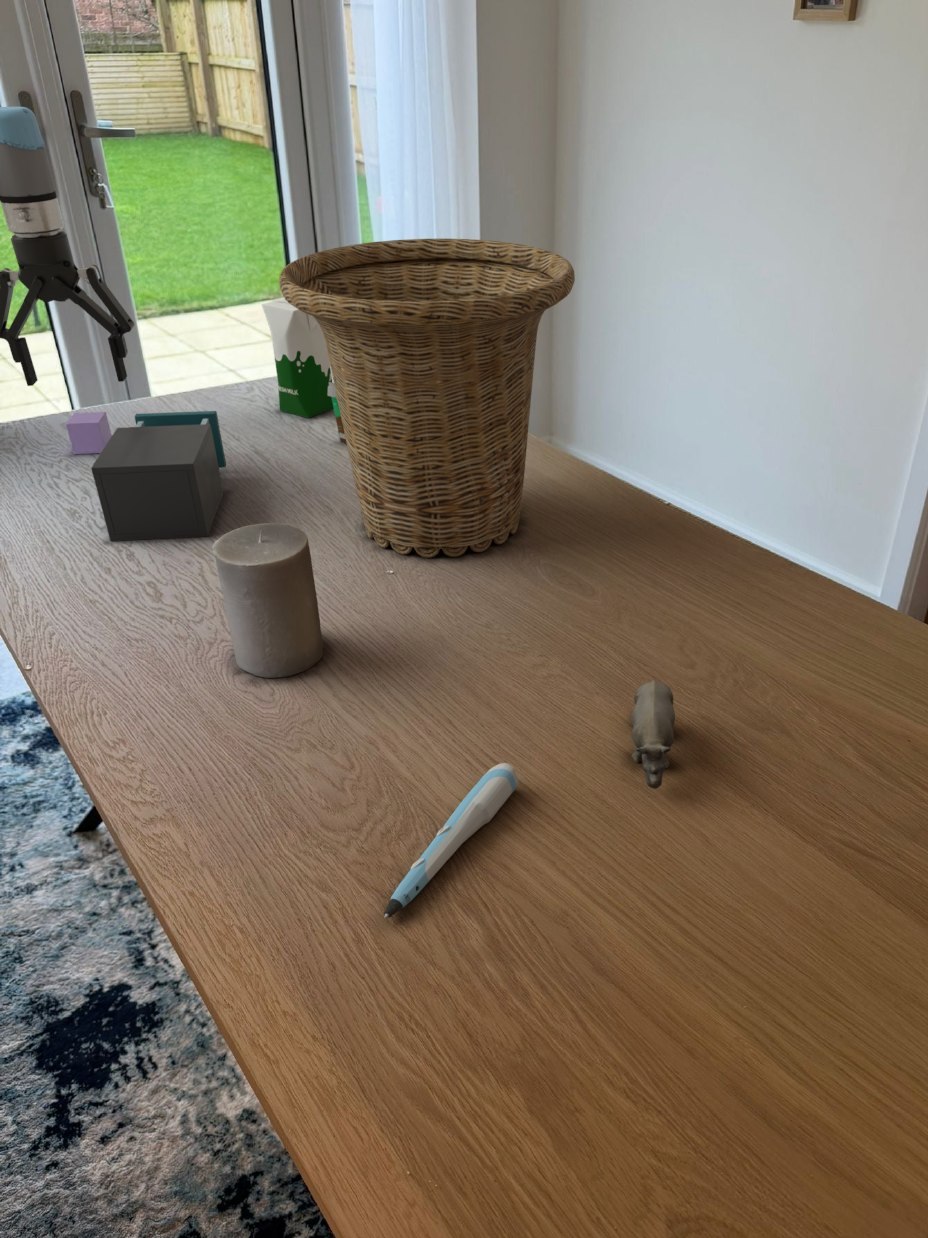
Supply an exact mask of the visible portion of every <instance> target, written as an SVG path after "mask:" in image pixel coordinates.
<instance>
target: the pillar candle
mask: <svg viewBox="0 0 928 1238" xmlns="http://www.w3.org/2000/svg"><path fill="white" fill-rule="evenodd" d="M212 551H213V554H214V559H215V563H216V569H217V574H218V579H219V583H220V589H221V595H222V600H223V605H224V609H225V615H226V620H227V625H228V629H229V635H230V638H231V644H232V648H233V653H234V658H235V662H236V665H237V667H238V668H239V669H241V670H243V671H245V672H247V673H249V674H251V675H254V676H256V677H260V678H265V679H271V678H272V679H274V678H275V679H276V678H284V677H289V676H294V675H297V674H299V673H302V672H305V671H307V670H309V669H310V668H312V667H313V666H314V665H316V663H318V662H320V660H321V659H322V658H323V656H324V653H325V648H324V644H323V636H322V629H321V619H320V612H319V604H318V597H317V590H316V583H315V582H316V581H315V576H314V569H313V563H312V556H311V555H312V554H311V548H310V542H309V538H308V536H307V534H306V533H305V532H304V531H303V530H302V529H300V528H299V527H297V526H293V525H291V524H284V523H280V522H279V523H278V522H264V523H263V522H262V523H255V524H249V525H245V526H240V527H238V528H235V529H233V530H230V531H229V532H227V533H224V534H223V535H222V536H221V537H220V538H218V539H216V540H215V541H214V543H213V545H212Z"/></svg>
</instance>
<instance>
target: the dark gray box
mask: <svg viewBox="0 0 928 1238" xmlns="http://www.w3.org/2000/svg"><path fill="white" fill-rule="evenodd" d="M111 435H112V437H111V438H110V440H109V441H108V443H107V444H106V446H105V447H104V449H103V451H102V452H101V453H99V455H98V457H96V459H95V461H94V463H93V464H92V465H91V467H90V469H91V473H92V477H93V480H94V484H95V488H96V492H97V497H98V499H99V503H100V507H101V511H102V514H103V519H104V522H105V526H106V529H107V534H108V538H109V541H110V542H121V541H122V542H123V541H142V540H143V541H144V540H160V539H161V540H162V539H163V540H164V539H180V538H181V539H183V538H203V537H204V538H207V537H209V534H210V531H211V528H212V525H213V522H214V520H215V517H216V515H217V512H218V509H219V506H220V503H221V501H222V498H223V494H224V488H223V482H222V477H221V473H220V468H219V466H218V461H217V456H216V451H215V445H214V440H213V435H212V429H211V425H210V424H201V425H176V426H150V427H135V426H127V427H116V429H115V431H114V432H113V434H111Z"/></svg>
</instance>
